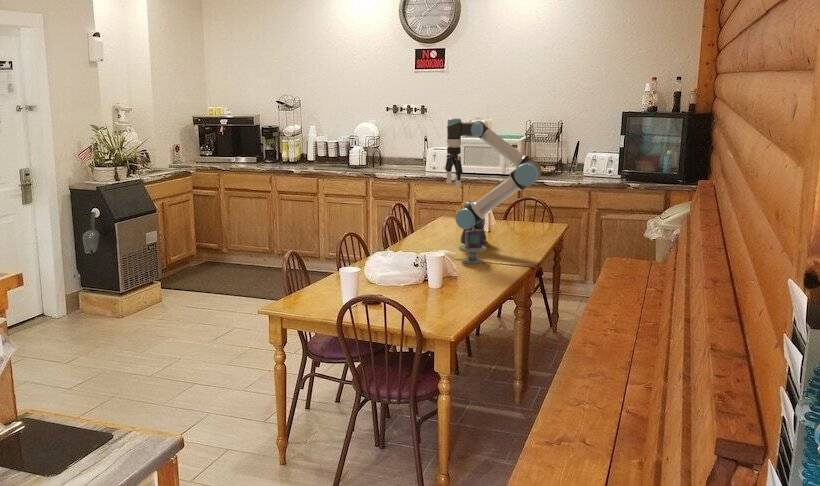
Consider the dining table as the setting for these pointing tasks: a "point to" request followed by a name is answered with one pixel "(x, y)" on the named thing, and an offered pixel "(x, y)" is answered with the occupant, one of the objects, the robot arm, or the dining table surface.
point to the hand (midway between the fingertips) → (453, 184)
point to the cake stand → (472, 254)
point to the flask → (473, 238)
